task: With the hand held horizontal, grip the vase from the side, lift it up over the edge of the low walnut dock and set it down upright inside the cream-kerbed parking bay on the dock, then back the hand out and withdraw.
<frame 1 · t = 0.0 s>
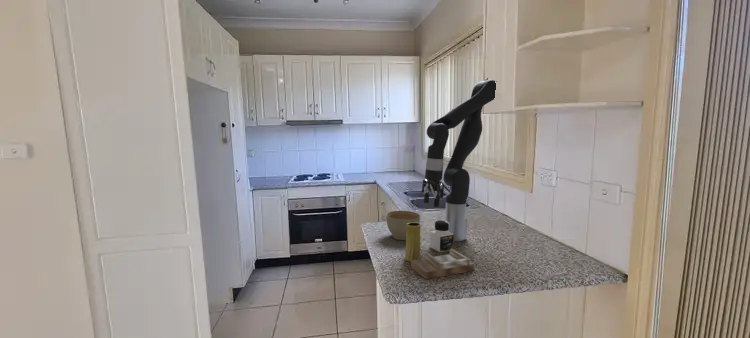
hand: (431, 204, 150), 17 cm above the worktop, tool pointing down, fingers open, 8 cm apart
planter bowl: (402, 237, 158), on the worktop
medicine bottle: (441, 249, 144), on the worktop
dock: (441, 268, 124), on the worktop
vase: (412, 259, 132), on the worktop
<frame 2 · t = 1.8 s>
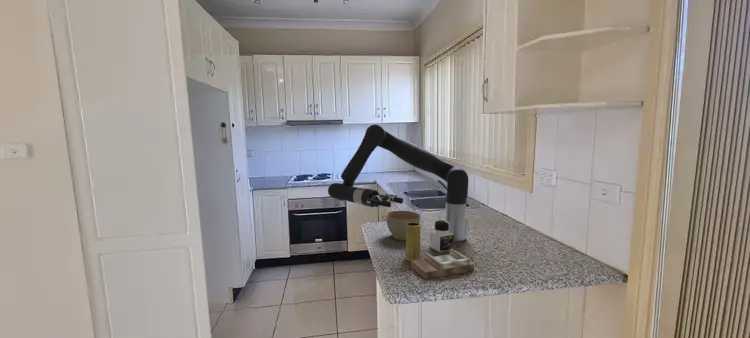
hand: (396, 202, 136), 21 cm above the worktop, tool horizontal, fingers open, 8 cm apart
nothing on the worktop moved.
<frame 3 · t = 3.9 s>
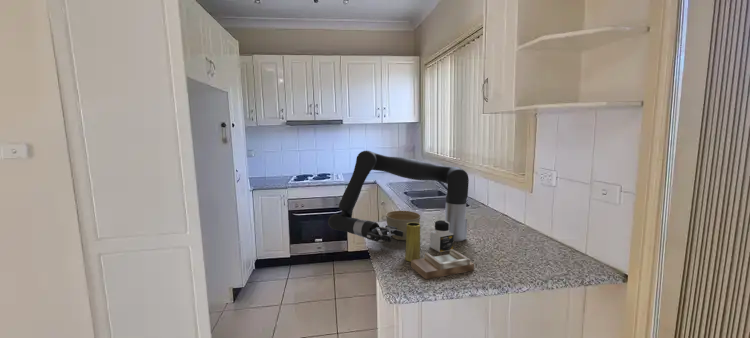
hand: (396, 236, 136), 7 cm above the worktop, tool horizontal, fingers open, 8 cm apart
nothing on the worktop moved.
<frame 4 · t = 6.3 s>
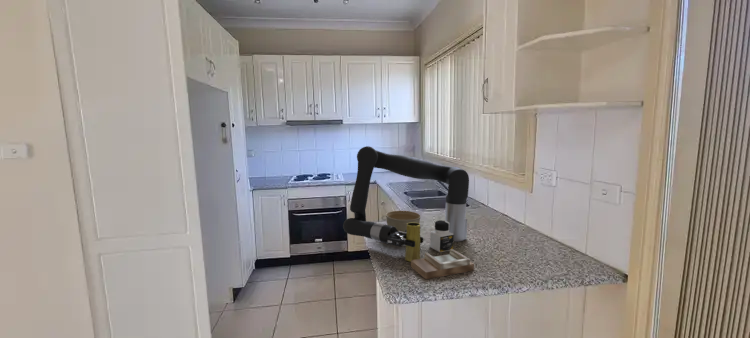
hand: (418, 242, 130), 8 cm above the worktop, tool horizontal, fingers closed on vase, 5 cm apart
vase: (412, 259, 132), on the worktop, touching gripper
everything else where it was.
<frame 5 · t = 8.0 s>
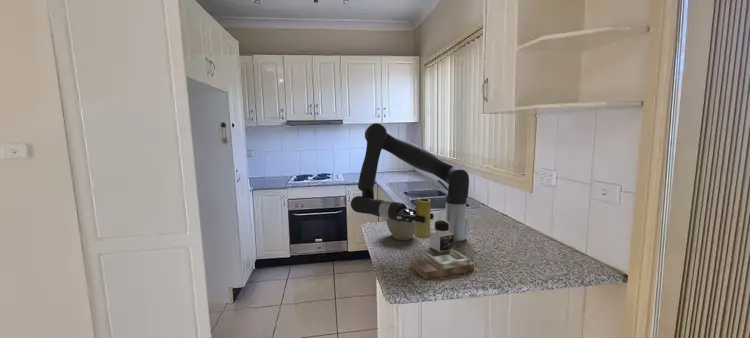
hand: (429, 218, 126), 18 cm above the worktop, tool horizontal, fingers closed on vase, 5 cm apart
vase: (422, 236, 129), point 10 cm above the worktop, touching gripper
everything else where it was.
when the fingers open (11 cm above the worktop, at t = 10.2 s): vase moves 1 cm, resting on dock.
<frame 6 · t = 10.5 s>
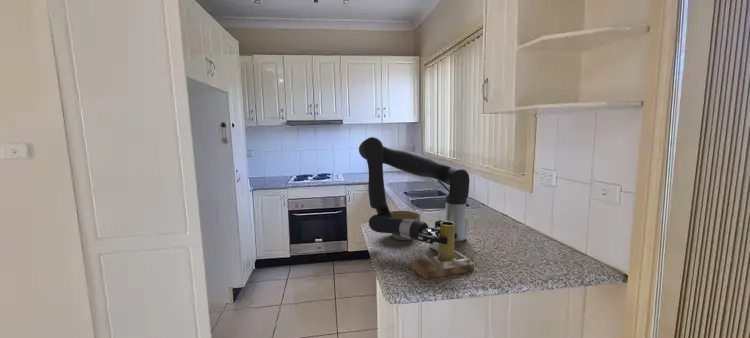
hand: (452, 238, 122), 12 cm above the worktop, tool horizontal, fingers open, 7 cm apart
vase: (445, 260, 125), point 2 cm above the worktop, touching dock
everything else where it was.
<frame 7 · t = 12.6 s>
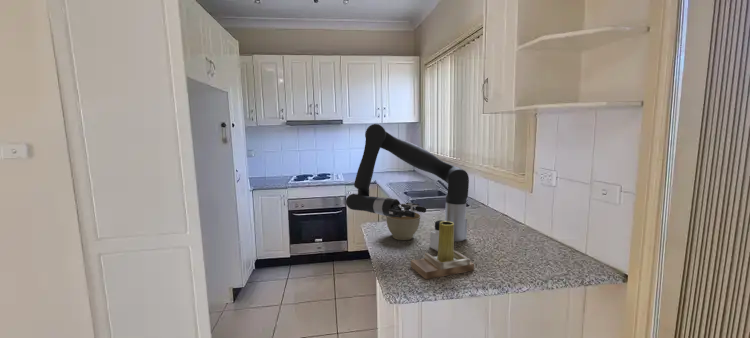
hand: (420, 212, 131), 19 cm above the worktop, tool horizontal, fingers open, 8 cm apart
nothing on the worktop moved.
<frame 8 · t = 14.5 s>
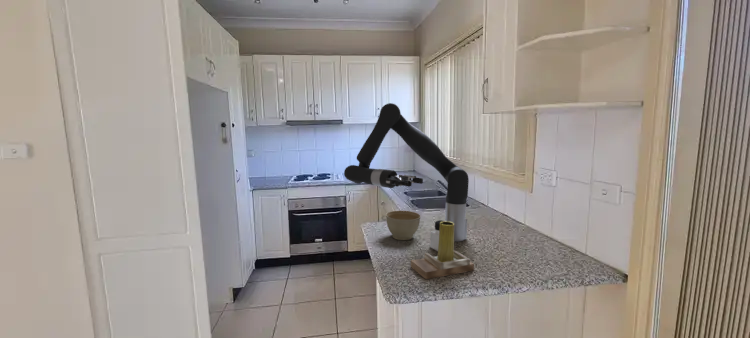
hand: (417, 182, 132), 30 cm above the worktop, tool horizontal, fingers open, 8 cm apart
nothing on the worktop moved.
at the end: vase inside the target area on the dock (0.2 cm from its centre), point 2.4 cm above the dock's base; vase tilted 0°; the gripper is holding nothing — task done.
